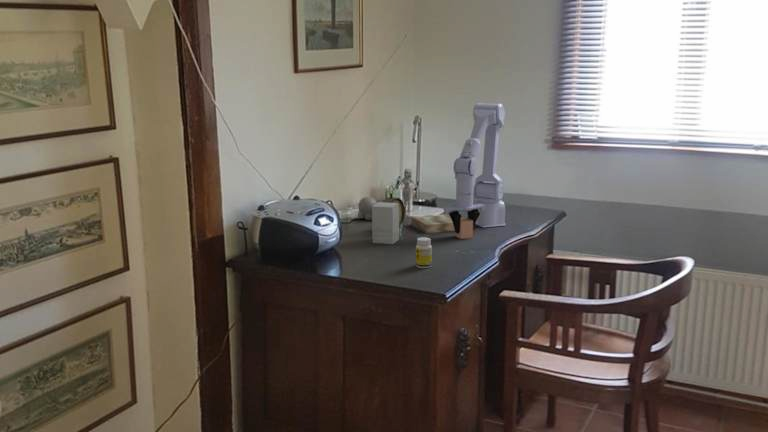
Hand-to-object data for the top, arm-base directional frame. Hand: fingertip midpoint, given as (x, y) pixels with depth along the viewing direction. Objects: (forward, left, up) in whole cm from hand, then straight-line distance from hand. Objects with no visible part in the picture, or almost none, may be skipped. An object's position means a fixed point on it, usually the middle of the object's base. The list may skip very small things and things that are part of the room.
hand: (463, 232), depth 261 cm
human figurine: (+5, -39, -2) cm, 39 cm away
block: (0, 0, -2) cm, 2 cm away
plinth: (+3, -16, -2) cm, 16 cm away
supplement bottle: (+27, +28, -2) cm, 39 cm away
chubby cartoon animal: (+20, -36, -2) cm, 41 cm away
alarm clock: (+20, -17, -2) cm, 26 cm away
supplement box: (+27, -4, -2) cm, 27 cm away
